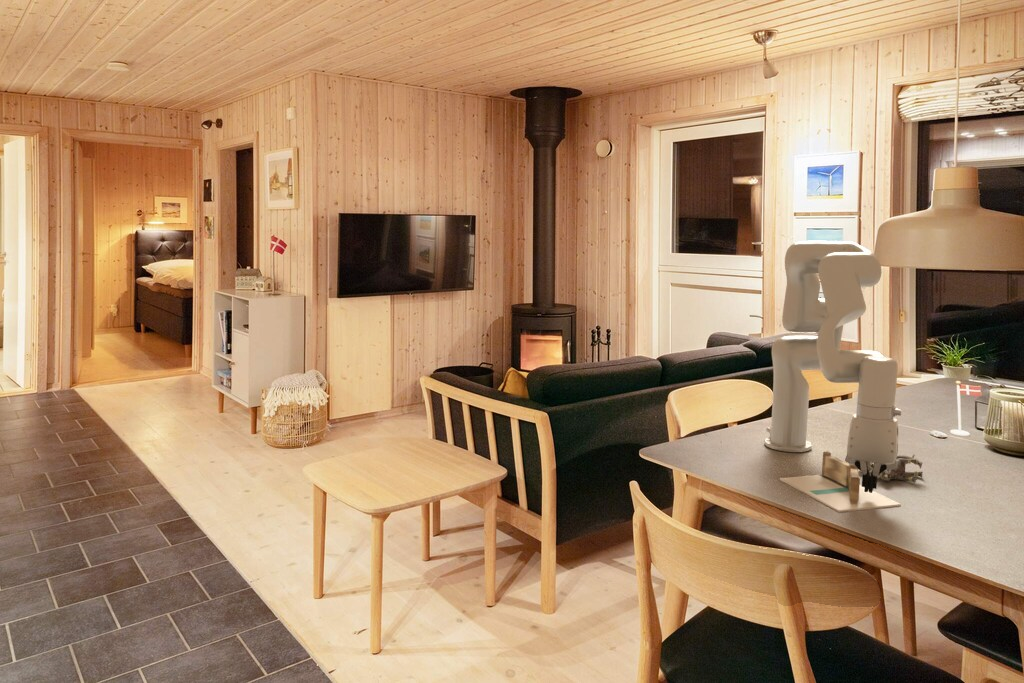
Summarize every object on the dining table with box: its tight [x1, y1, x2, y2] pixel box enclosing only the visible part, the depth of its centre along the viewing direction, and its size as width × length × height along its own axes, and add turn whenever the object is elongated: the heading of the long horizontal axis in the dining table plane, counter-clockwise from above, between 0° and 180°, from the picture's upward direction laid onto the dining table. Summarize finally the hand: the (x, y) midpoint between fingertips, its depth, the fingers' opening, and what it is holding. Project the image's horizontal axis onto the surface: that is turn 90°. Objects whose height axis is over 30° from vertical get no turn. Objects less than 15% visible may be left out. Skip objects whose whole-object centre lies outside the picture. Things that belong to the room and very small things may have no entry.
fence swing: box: [849, 468, 861, 503], centre depth 172 cm, size 10×2×5 cm, turn 158°
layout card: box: [779, 474, 901, 513], centre depth 178 cm, size 22×16×1 cm
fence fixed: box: [821, 451, 859, 489], centre depth 183 cm, size 12×2×6 cm, turn 14°
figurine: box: [849, 453, 924, 485], centre depth 190 cm, size 20×6×17 cm
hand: (868, 490), depth 171 cm, fingers closed
